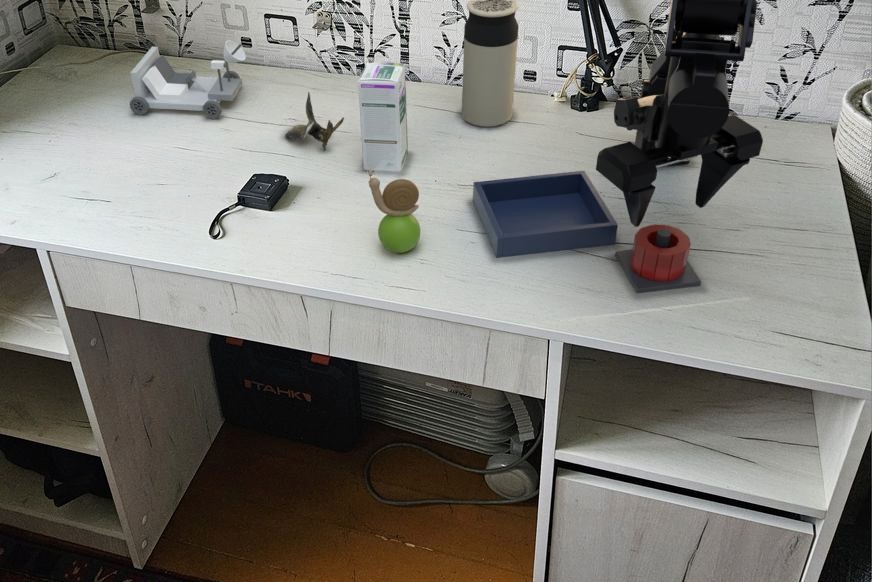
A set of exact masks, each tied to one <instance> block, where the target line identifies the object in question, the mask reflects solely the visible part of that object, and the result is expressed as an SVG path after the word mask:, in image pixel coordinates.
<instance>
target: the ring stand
mask: <svg viewBox="0 0 872 582" xmlns="http://www.w3.org/2000/svg"><path fill="white" fill-rule="evenodd" d="M670 237H671V232H670V231H669V230H667V229H660V230H658V232H657V237H656V242H655V246H656V247H659V248H668V246H669V242H670ZM632 249H633V248H632ZM632 249H631V248H630V249H624V250H623V249H622V250H615V252H614V257H615V259H616V260H617V262H618V263H619V265H620V267H621V269H622V270H623V272H624V273H625V275H626V278H627V279H628V281H629V282H630V284H631V286H632V287H633V289H634V291H635V293H636V294H645V293H653V292H663V291H670V290H678V289H687V288H688V289H689V288H695V287H701V285H702V281H701V279H700V277H699V276H698V274H697V272H696V271H695V270H694V268H693V267H692V266H691V265H690V262H689V261H688V260H687V263H686V267H685V271H684V273H683V274H682V275H681V276H680V278H678V279H675V280H672V281H667V282H662V281H654V280H653V281H652V280H649V279H646V278H643V277H641V276H639V275H638V274H637V273H636V272H635V271H634V270H633V269H632V268H631V255H632Z"/></svg>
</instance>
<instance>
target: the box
mask: <svg viewBox="0 0 872 582" xmlns="http://www.w3.org/2000/svg"><path fill="white" fill-rule="evenodd" d="M472 203H473V206H474V207H475V210H476V213H477V215H478V217H479V220H480V222H481V224H482V227H483V229H484V232H485V234H486V236H487V239H488V241H489V244H490V246H491V248H492V251H493V253H494V256H495V258H496V259H501V258H510V257H517V256H519V257H520V256H527V255H536V254H545V253H554V252H563V251H570V250H571V251H573V250H580V249H589V248H597V247H598V248H599V247H605V246H606V247H607V246H615V244H616V238H617V234H618V226H619V224H618V223H617V221H616V220H615V218H614V216H613V215H612V213H611V211H610V210H609V207H608V206H607V204H606V203H605V201H604V200H603V198H602V197H601V195H600V193H599V192H598V190H597V188H596V186H595V185H594V184H593V182H592V180H591V179H590V177H589V176H588V174H587V172H586V171H585V170H576V171H575V170H574V171H565V172H558V173H557V172H556V173H547V174H538V175H530V176H529V175H527V176H519V177H510V178H501V179H492V180H482V181H473V185H472Z"/></svg>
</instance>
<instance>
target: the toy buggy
mask: <svg viewBox="0 0 872 582" xmlns="http://www.w3.org/2000/svg"><path fill="white" fill-rule="evenodd" d="M242 46H243V45H242V44H241V43H237V42H236V41H233V40H230V39H229V40H226V41H225V44H224V47H223V60H219V59H212V60H211V62H210V68H211V69H212V70H217V76H218V77H215V76H196V75H197V72H196V71H194V70H192V71H191V72H190V73H189V72H176V71H175V70H174V68H173V67H172V66H171V64H170V62H169V61H168V60H167V58H166V57H165V55H161V56H160V50H159V46H151V47H150V48H149V50H148V51H147V52H146V53H145V54H144V56H143V57H142V58H141V59H140V61H139V62H138V63H137V64H136V65H135V66H134V68H133V69H132V70H131V71H130V77H131V83H132V86H133V91H134V97H133V98H131V99H130V101H129V108H130V110H131V111H132V112H133V113H134V114H136V115H138V116H142V115H143V116H144V115H146V114H147V112H148V111H149V109H162V110H178V111H179V110H180V111H181V110H182V111H199V112H203V114H204V116H205V117H207V118H208V119H210V120H216V119H219V118H220V116H221V115H222V112H223V108H222V106H221V104H220V103H221V101H228V102H233V100H234V99H235V98H236V95H237V94H238V93H239V91H240V89H241V87H242V86H243V79H242V78H241V77H240V75H239V73H237V72H236V71H234V70H230V67H229V64H237V63H240V62H244V61H246V58H247V55H246V53H245V50H244V49H243V47H242ZM224 69H225V70H226V72H224V74H223V75H222V74H221V70H224Z"/></svg>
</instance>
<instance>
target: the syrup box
mask: <svg viewBox="0 0 872 582" xmlns="http://www.w3.org/2000/svg"><path fill="white" fill-rule="evenodd" d="M357 86H358V103H359V119H360V137H361V149H362V162H363V163H362V165H363V170H364V171H367V172H368V170H369V169H372V172H375V171H385V172H396V173H397V172H398V173H400V172H402V170H403V168H404V165H405V162H406V160H407V158H408V157H407V156H408V154H409V151H408V150H409V148H408V147H409V146H408V117H407V115H408V113H407V112H408V111H407V88H406V65H405V64H404V63H397V62H388V61H387V62H386V61H378V62H377V61H376V62H375V61H374V62H373V61H372V62H366V64H365V66H364V68H363V70H362V71H361V73H360V75H359V78H358V80H357Z"/></svg>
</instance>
